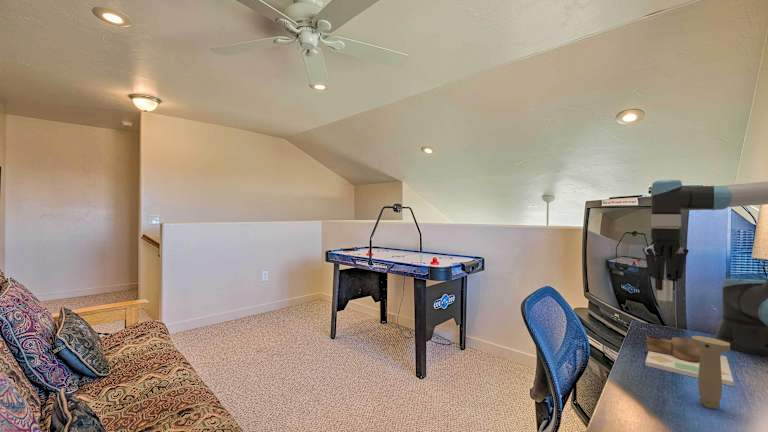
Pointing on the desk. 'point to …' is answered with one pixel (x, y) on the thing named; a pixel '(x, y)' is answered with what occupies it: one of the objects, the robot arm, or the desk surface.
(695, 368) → the board
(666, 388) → the desk surface
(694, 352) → the brown frying pan
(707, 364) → the handle
